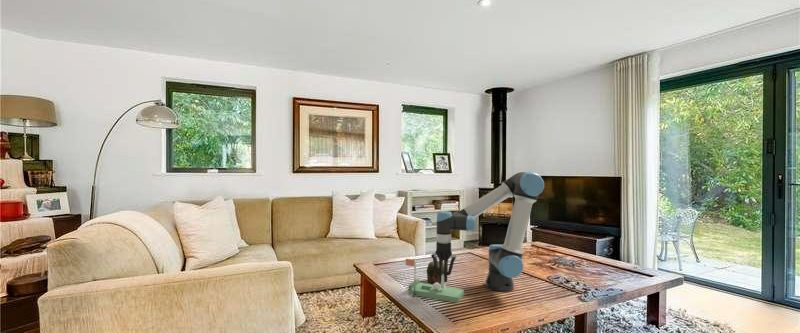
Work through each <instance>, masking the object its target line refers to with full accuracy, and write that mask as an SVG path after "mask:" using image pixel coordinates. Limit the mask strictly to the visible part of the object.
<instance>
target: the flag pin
mask: <svg viewBox="0 0 800 333" xmlns="http://www.w3.org/2000/svg"><path fill="white" fill-rule="evenodd" d="M416 261H417V260H416V259H410V258H405V266H407V267H408V266H410V267H413V270H414V271H413V273H414V274H413V276H414V277H413V282H414V294H413V295H411V296H412V298H417V297H418V296H417V295H416V294H415V284H416V279H417V278H416V277H417V275H416V273H417V272H416V268H417V267H416V266H417V264H416V263H417V262H416Z"/></svg>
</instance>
